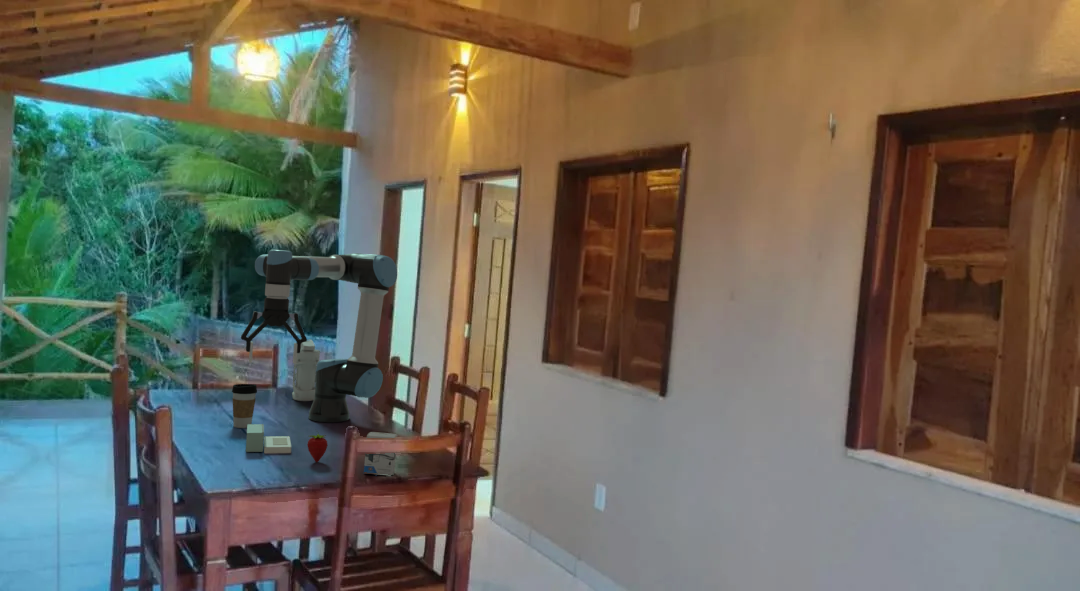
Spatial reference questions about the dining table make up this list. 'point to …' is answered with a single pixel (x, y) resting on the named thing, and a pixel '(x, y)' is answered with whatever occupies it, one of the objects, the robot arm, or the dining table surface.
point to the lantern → (305, 372)
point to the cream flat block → (277, 444)
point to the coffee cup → (243, 404)
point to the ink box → (380, 458)
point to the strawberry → (317, 446)
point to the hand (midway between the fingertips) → (272, 362)
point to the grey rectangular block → (255, 438)
